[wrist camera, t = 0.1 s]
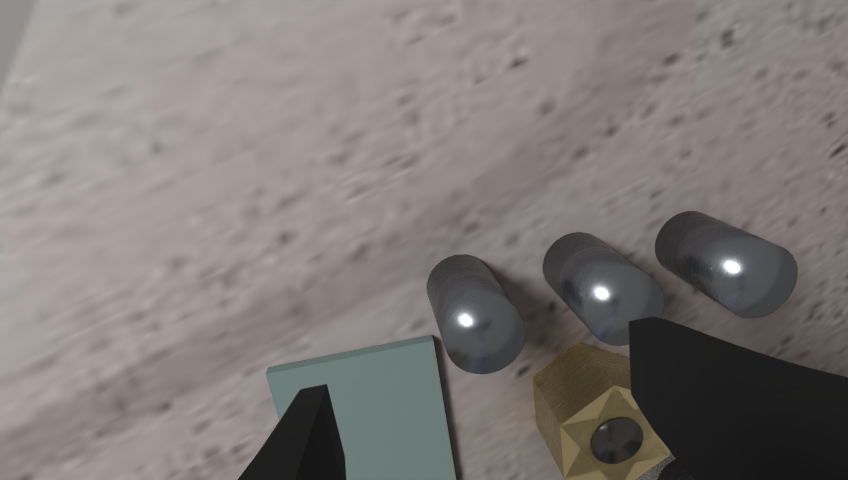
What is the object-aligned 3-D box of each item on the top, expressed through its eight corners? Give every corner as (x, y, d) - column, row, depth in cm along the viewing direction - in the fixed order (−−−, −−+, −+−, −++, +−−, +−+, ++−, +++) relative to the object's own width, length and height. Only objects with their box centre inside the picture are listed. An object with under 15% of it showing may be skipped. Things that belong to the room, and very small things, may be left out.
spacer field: (707, 494, 28) (771, 571, 24) (468, 549, 27) (491, 640, 23) (717, 205, 23) (800, 238, 19) (422, 261, 22) (439, 309, 18)
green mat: (458, 498, 26) (460, 506, 26) (314, 530, 26) (313, 539, 25) (431, 335, 23) (433, 340, 23) (267, 367, 23) (266, 374, 22)
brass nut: (629, 427, 26) (671, 481, 23) (538, 447, 26) (566, 504, 22) (627, 331, 24) (671, 374, 21) (529, 351, 24) (558, 398, 21)
